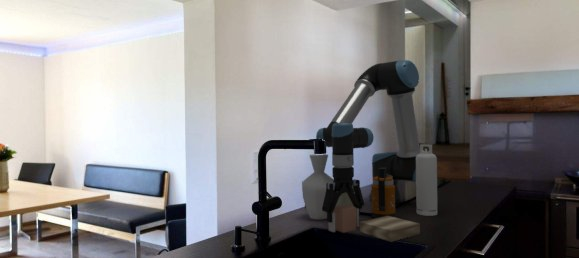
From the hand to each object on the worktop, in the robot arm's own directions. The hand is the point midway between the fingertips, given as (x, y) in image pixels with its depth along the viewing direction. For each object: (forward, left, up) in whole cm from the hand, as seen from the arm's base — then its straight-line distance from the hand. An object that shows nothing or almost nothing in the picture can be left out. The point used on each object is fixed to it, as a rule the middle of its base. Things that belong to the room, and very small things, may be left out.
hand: (344, 228), depth 140 cm
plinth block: (+13, +9, -1) cm, 16 cm away
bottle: (+3, +42, 0) cm, 42 cm away
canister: (-2, +22, 0) cm, 22 cm away
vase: (-19, +4, 0) cm, 19 cm away
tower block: (0, 0, 0) cm, 0 cm away
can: (-25, +22, 0) cm, 33 cm away
